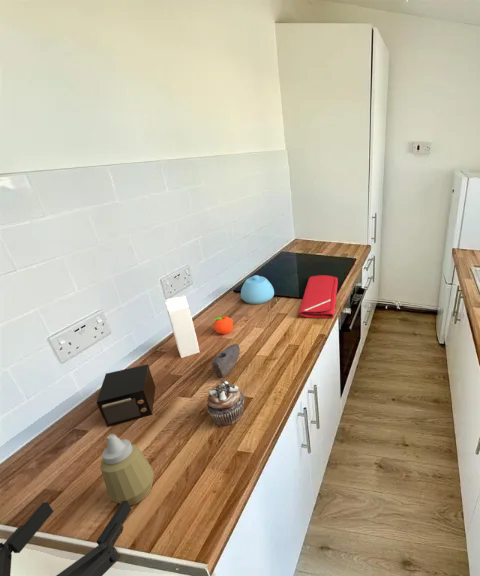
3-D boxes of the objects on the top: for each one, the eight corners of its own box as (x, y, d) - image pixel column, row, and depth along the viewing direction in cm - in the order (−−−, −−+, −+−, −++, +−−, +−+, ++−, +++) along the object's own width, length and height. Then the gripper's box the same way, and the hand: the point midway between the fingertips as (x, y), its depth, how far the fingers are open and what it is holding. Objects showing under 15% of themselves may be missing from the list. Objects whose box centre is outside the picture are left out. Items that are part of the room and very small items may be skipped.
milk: (178, 350, 118) (162, 296, 108) (196, 344, 121) (183, 291, 112) (181, 358, 113) (165, 303, 104) (200, 352, 117) (187, 298, 107)
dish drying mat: (338, 280, 179) (338, 274, 178) (334, 318, 143) (334, 311, 141) (309, 279, 178) (309, 273, 176) (297, 318, 141) (297, 311, 139)
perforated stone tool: (232, 352, 118) (230, 337, 115) (246, 354, 117) (244, 338, 114) (209, 381, 104) (205, 364, 101) (224, 382, 104) (221, 365, 101)
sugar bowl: (234, 302, 151) (230, 280, 146) (253, 289, 164) (250, 268, 159) (264, 307, 148) (261, 284, 143) (280, 293, 161) (278, 272, 156)
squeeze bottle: (153, 468, 77) (131, 413, 69) (162, 493, 72) (140, 437, 64) (110, 491, 72) (81, 434, 64) (117, 520, 67) (86, 462, 59)
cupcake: (201, 423, 89) (194, 396, 85) (226, 398, 98) (220, 372, 94) (231, 432, 87) (225, 404, 83) (253, 406, 96) (249, 380, 91)
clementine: (211, 338, 125) (208, 323, 122) (213, 329, 130) (210, 314, 127) (234, 335, 127) (231, 320, 124) (235, 326, 133) (232, 311, 130)
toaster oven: (106, 431, 86) (94, 405, 82) (115, 397, 96) (105, 373, 92) (151, 418, 90) (142, 393, 86) (155, 387, 101) (148, 364, 97)
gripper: (-137, 701, 41) (23, 519, 60) (73, 689, 42) (164, 516, 62) (-179, 679, 38) (5, 494, 57) (51, 667, 39) (154, 491, 58)
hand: (88, 505), depth 59 cm, fingers open, 13 cm apart
